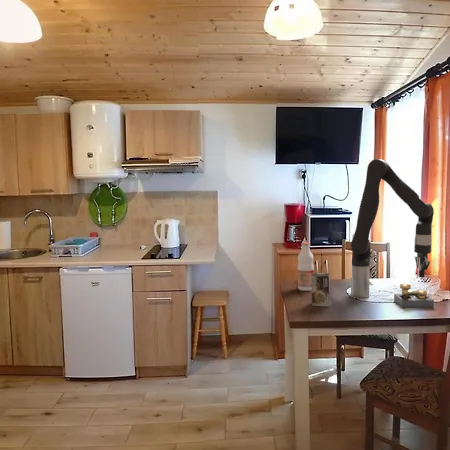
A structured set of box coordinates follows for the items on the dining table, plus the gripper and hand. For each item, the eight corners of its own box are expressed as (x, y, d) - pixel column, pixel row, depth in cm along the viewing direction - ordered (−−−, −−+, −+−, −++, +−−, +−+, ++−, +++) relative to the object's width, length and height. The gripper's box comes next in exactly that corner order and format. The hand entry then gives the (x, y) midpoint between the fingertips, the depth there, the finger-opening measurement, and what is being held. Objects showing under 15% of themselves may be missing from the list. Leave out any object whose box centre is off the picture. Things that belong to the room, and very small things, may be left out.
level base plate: (402, 308, 200) (402, 297, 200) (394, 301, 212) (394, 290, 212) (433, 308, 199) (433, 296, 199) (423, 300, 211) (423, 290, 211)
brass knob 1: (402, 299, 204) (402, 286, 203) (398, 296, 208) (398, 283, 208) (412, 299, 203) (412, 286, 202) (408, 296, 208) (408, 283, 207)
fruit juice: (295, 287, 245) (294, 242, 242) (310, 286, 247) (309, 241, 244) (302, 291, 236) (301, 244, 233) (316, 290, 238) (316, 243, 235)
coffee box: (330, 303, 213) (330, 273, 211) (329, 306, 207) (329, 276, 205) (313, 302, 216) (312, 272, 214) (311, 305, 210) (311, 275, 208)
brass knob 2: (418, 305, 203) (418, 292, 203) (414, 302, 208) (414, 290, 207) (428, 305, 203) (428, 292, 202) (424, 302, 208) (424, 289, 207)
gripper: (410, 241, 209) (408, 273, 211) (420, 245, 196) (418, 280, 198) (425, 241, 208) (423, 274, 210) (436, 245, 195) (434, 280, 197)
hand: (421, 277), depth 204 cm, fingers closed
